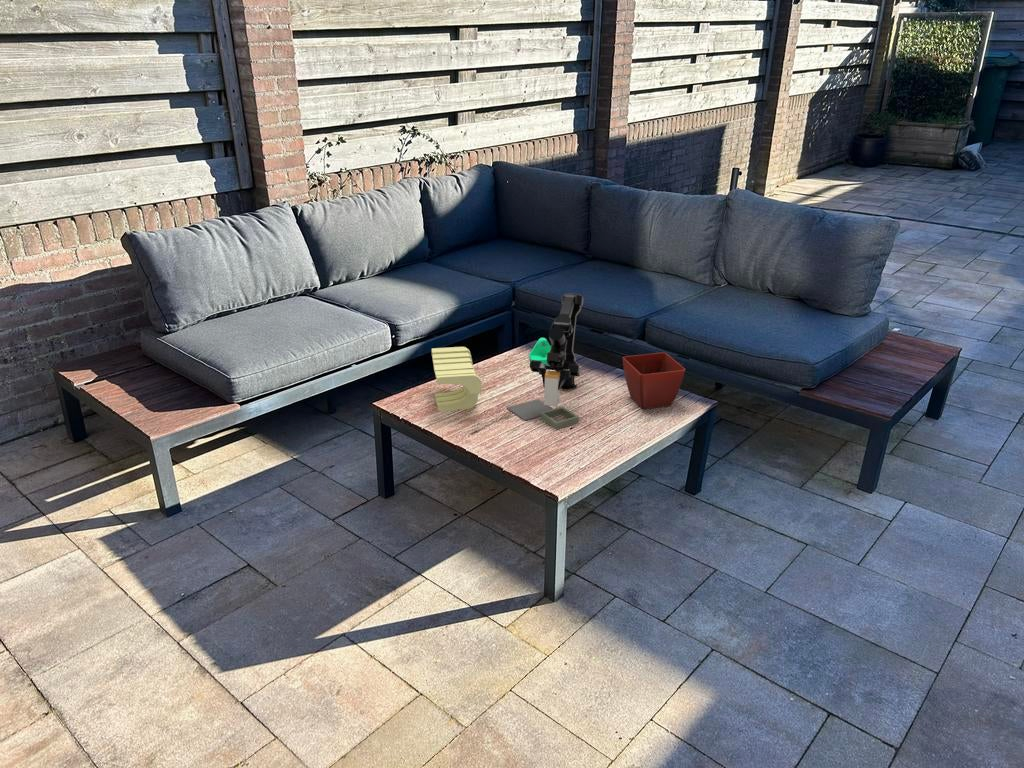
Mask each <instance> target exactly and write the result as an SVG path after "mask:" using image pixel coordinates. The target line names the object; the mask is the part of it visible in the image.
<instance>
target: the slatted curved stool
mask: <svg viewBox="0 0 1024 768" xmlns="http://www.w3.org/2000/svg"><path fill="white" fill-rule="evenodd" d="M431 357H432V364H433V371H434V375H435V379H436V383H437V384H438V385H458V386H462V387H461V388H459V389H457V390H455V391H454V390H453V391H448V392H441V393H440V392H439V393H434V400H435V403H436V404H435V405H436V409H437V411H439V412H441V411H443V412H444V411H455V410H468V409H472V408H475V406H476V405H477V403H478V400H479V394H482V380H481V378H480V377H479V375H477V374H476V370H475V368H474V363H473V358H472V354H471V351H470V349H469V348H467V347H466V346H453V347H435V348H431Z"/></svg>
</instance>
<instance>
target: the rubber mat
mask: <svg viewBox="0 0 1024 768" xmlns="http://www.w3.org/2000/svg"><path fill="white" fill-rule="evenodd" d="M552 409H554V408H553V406H549V405H544V401H542V400H540V398H537V399H532V400H529V401H524V402H522V403H521V402H520V403H518V404H515V405H514V404H513V405H511V406H507V407H506V410H507V411H510V413H512V414H514V415H515V416H516V417H518V418H519V419H521V420H522V421H524V422H528V421H531V420H534V419H538V418H540V413H541V412H545V411H549V410H552Z"/></svg>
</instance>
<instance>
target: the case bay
mask: <svg viewBox="0 0 1024 768" xmlns="http://www.w3.org/2000/svg"><path fill="white" fill-rule="evenodd" d="M559 415H562V416H564V417H566V418H565V419H562V420H558V421H557V420H555V419H553V418H552V417H555V416H559ZM539 419H540V420H541V421H543V422H545V424H547V425H549V426H550V427H552V428H553V429H555V430H558V429H559V430H560V429H562V427H563V428H565V427H569V426H572V424H573V425H576V424H578V423H579V422H580V416H579V415H577V414H576V413H574V412H572V411H570V410H568V409H567V408H566V407H564V406H560V407H556V408H553V409H552V410H549V411H545V412H541V413H540V417H539Z"/></svg>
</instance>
